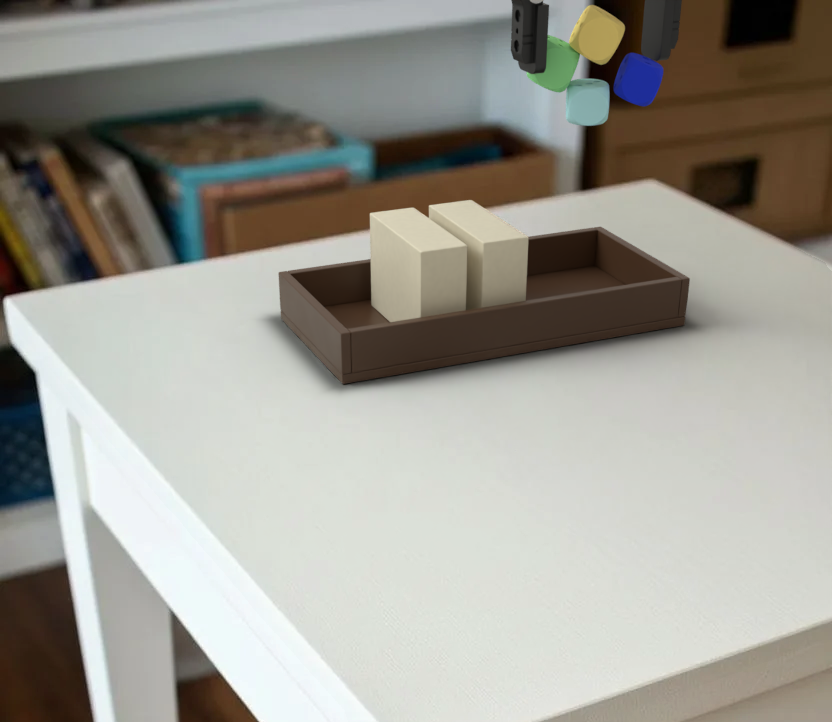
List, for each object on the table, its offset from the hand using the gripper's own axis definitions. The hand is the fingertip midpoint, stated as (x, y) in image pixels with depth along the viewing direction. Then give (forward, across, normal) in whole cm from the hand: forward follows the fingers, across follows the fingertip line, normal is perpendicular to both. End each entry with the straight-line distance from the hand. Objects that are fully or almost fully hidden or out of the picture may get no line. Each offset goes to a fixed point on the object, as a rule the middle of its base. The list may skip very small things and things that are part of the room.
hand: (593, 64), depth 81 cm
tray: (+15, +6, -1) cm, 16 cm away
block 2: (+15, +7, -1) cm, 16 cm away
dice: (+3, 0, 0) cm, 3 cm away
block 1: (+15, +11, -1) cm, 18 cm away
